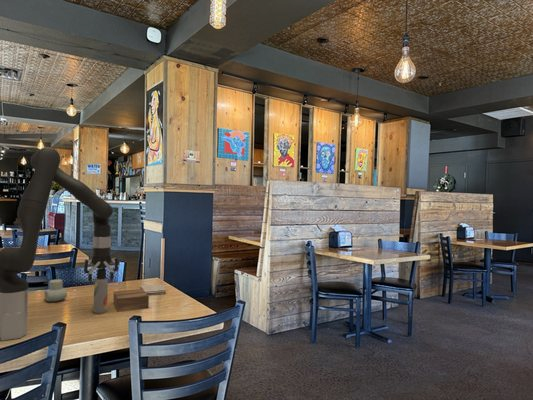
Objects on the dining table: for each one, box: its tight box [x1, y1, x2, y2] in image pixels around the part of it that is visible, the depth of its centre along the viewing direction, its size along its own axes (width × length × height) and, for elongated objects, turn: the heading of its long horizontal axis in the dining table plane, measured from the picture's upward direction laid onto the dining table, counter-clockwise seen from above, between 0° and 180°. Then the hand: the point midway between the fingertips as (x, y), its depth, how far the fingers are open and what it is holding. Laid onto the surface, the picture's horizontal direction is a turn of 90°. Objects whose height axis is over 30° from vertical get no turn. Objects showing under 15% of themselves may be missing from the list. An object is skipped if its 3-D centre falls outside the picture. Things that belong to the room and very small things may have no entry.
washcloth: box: [139, 283, 167, 296], centre depth 209 cm, size 12×18×3 cm, turn 29°
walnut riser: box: [113, 288, 150, 313], centre depth 180 cm, size 14×14×6 cm
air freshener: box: [43, 278, 68, 303], centre depth 185 cm, size 11×8×10 cm
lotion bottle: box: [93, 268, 109, 315], centre depth 170 cm, size 6×6×20 cm
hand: (100, 281), depth 170 cm, fingers open, 8 cm apart
